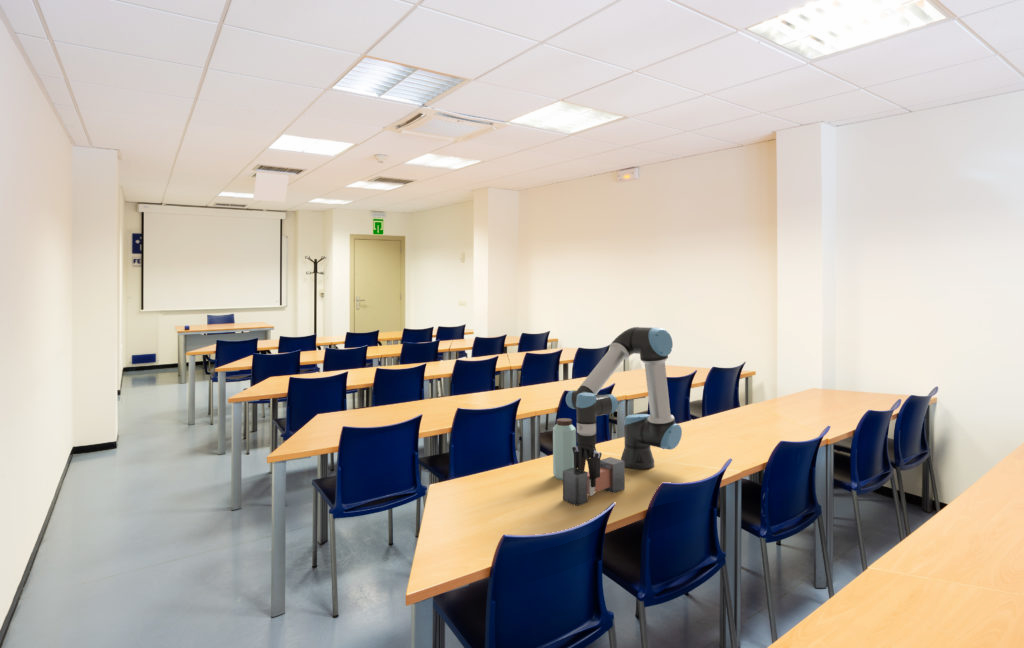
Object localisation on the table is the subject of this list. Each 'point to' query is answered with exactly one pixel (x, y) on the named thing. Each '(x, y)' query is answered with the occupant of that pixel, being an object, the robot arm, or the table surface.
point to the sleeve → (615, 473)
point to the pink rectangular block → (602, 479)
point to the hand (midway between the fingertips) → (587, 493)
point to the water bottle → (563, 446)
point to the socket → (575, 486)
